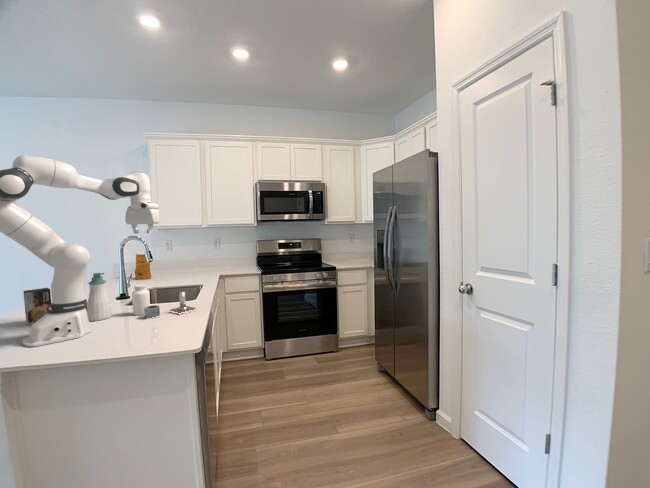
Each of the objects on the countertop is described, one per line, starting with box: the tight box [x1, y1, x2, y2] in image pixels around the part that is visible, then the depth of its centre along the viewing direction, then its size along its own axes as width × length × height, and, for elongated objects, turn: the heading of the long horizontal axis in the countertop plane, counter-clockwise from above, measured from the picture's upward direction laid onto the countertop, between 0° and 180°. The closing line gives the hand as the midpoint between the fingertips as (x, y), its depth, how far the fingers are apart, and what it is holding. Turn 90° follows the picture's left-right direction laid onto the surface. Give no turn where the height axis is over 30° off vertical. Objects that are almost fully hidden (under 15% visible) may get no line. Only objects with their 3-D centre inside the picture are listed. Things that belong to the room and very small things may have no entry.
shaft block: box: [169, 291, 196, 313], centre depth 169 cm, size 9×9×10 cm
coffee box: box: [23, 287, 52, 327], centre depth 153 cm, size 9×6×16 cm
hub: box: [144, 304, 161, 319], centre depth 160 cm, size 6×6×5 cm
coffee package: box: [134, 253, 152, 281], centre depth 280 cm, size 10×12×22 cm
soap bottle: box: [87, 272, 112, 322], centre depth 158 cm, size 10×10×23 cm
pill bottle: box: [131, 284, 151, 316], centre depth 166 cm, size 8×8×15 cm
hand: (142, 233), depth 158 cm, fingers open, 8 cm apart
